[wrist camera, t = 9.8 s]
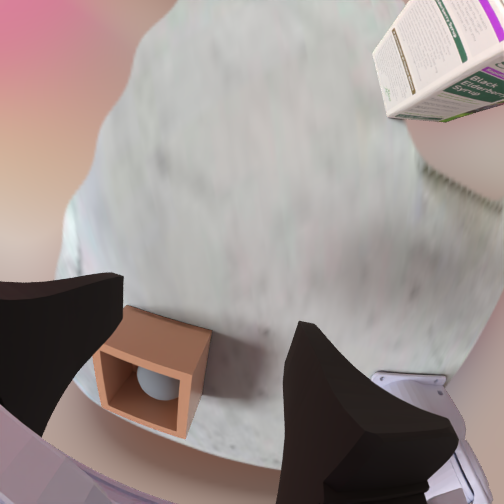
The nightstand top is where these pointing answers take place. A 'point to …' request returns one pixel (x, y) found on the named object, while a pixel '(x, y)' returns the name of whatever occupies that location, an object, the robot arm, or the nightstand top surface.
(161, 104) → the nightstand top surface
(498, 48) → the syrup box
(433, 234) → the nightstand top surface
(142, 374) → the ball
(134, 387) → the open square bin
